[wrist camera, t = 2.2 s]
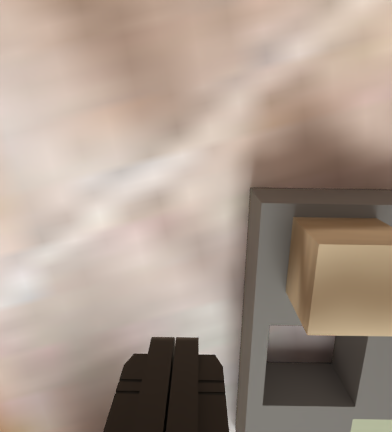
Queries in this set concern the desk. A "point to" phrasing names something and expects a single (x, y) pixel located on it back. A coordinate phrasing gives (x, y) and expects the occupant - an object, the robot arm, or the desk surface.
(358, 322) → the block
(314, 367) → the plate
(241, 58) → the desk surface
